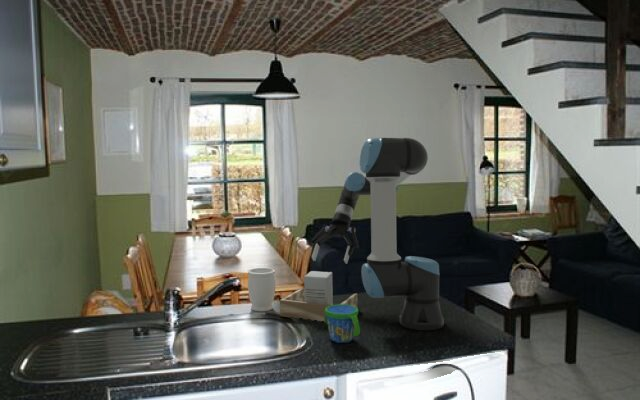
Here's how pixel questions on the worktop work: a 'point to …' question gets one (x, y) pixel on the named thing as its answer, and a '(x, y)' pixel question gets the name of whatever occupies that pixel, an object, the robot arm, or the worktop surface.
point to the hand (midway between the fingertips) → (329, 260)
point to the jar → (261, 288)
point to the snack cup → (342, 322)
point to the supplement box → (318, 287)
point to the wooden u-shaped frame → (307, 306)
